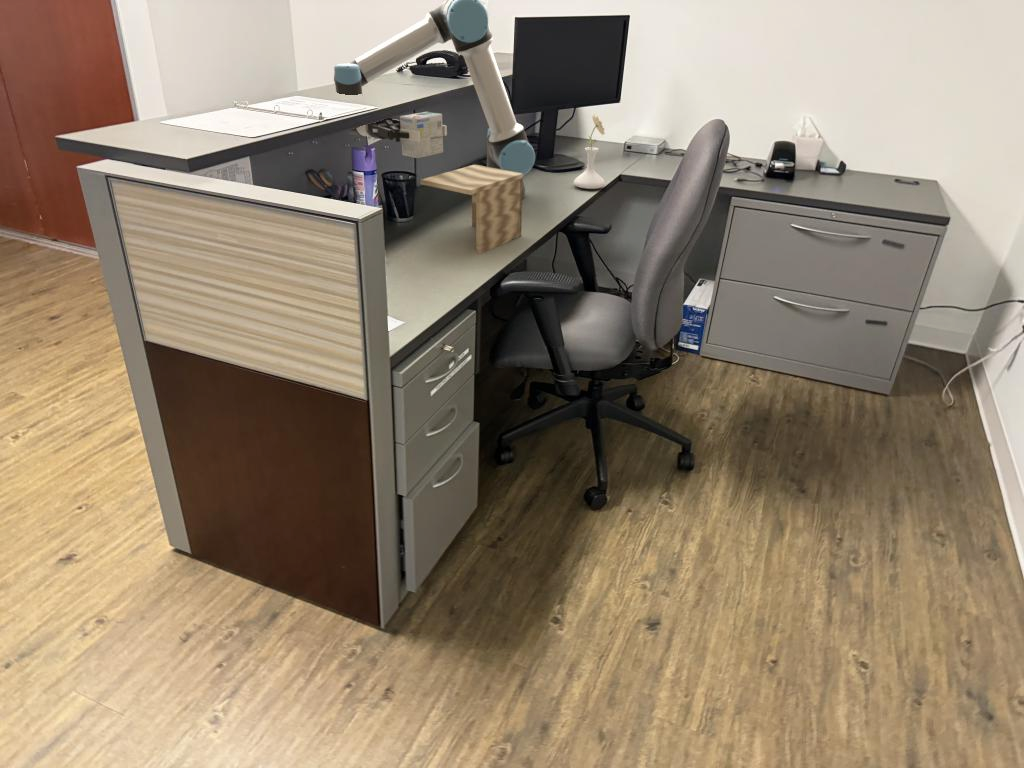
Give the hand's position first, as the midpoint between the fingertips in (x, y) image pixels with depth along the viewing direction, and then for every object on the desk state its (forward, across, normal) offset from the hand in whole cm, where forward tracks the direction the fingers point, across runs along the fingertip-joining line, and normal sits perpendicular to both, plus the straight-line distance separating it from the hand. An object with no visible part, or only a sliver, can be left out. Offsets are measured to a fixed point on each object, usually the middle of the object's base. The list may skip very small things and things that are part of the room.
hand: (432, 133), depth 210 cm
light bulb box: (-4, 0, -6) cm, 7 cm away
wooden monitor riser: (+14, 0, -28) cm, 31 cm away
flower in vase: (+9, -76, -29) cm, 82 cm away
